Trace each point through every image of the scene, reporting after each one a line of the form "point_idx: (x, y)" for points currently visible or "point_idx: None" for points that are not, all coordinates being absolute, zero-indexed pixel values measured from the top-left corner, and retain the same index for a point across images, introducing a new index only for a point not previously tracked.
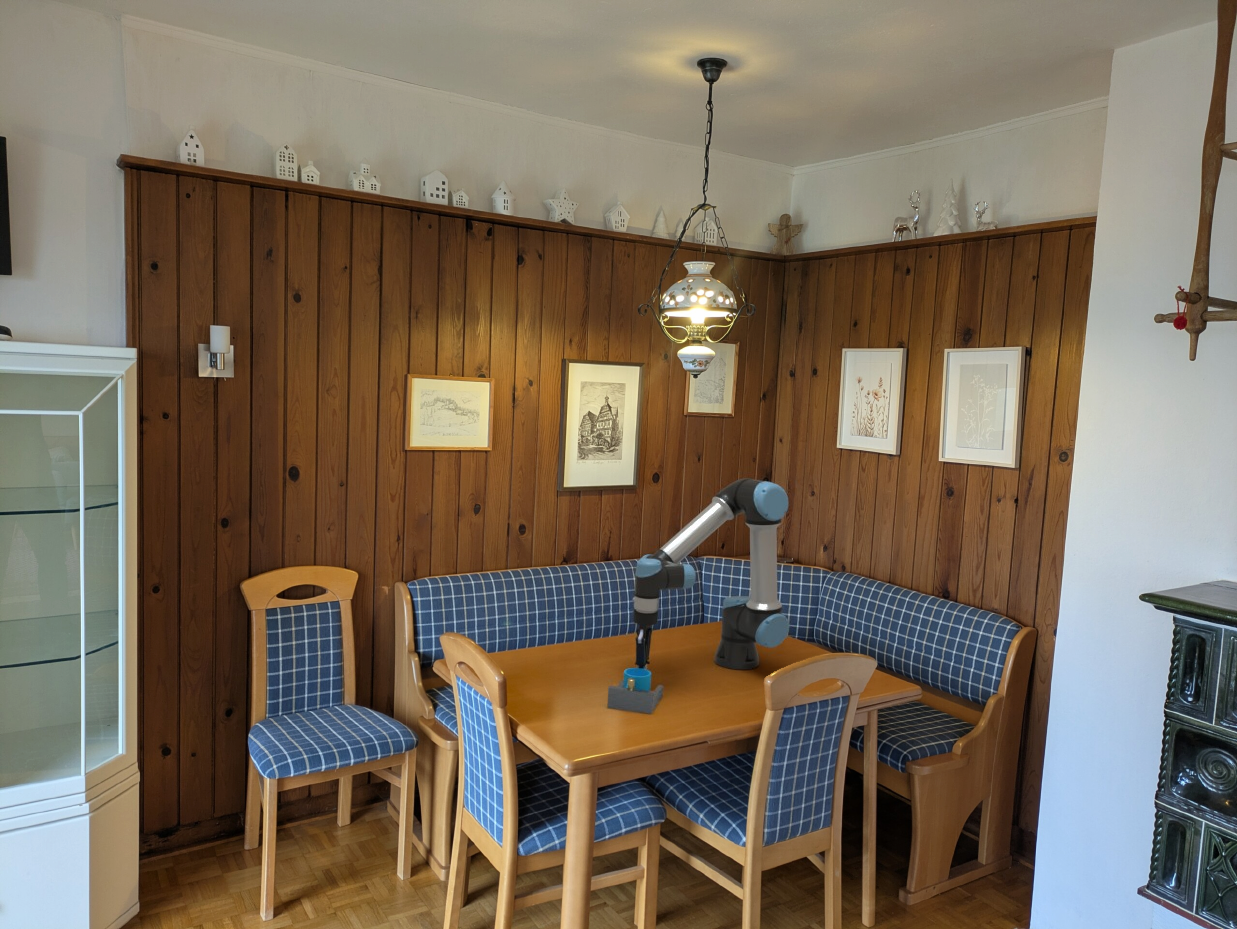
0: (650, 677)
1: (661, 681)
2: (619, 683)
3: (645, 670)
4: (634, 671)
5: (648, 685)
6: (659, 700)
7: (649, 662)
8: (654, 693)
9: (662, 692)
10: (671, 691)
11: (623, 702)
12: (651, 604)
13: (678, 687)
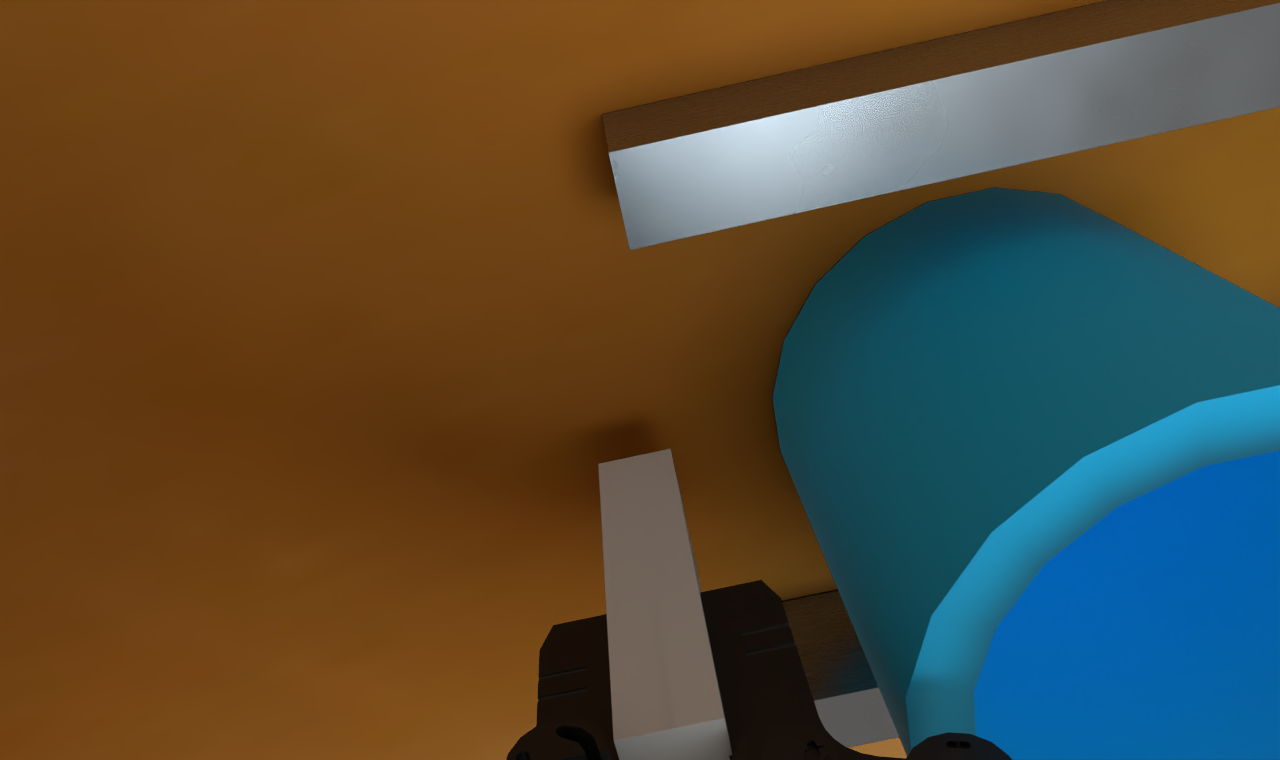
0: (1205, 352)
1: (8, 408)
2: None
3: (1013, 602)
4: None
5: (1196, 286)
6: (879, 52)
7: (552, 754)
8: (1140, 108)
9: (648, 116)
10: (317, 61)
11: None
12: None
13: (21, 35)
